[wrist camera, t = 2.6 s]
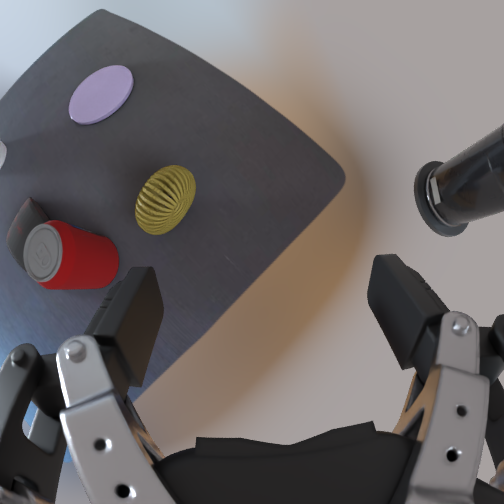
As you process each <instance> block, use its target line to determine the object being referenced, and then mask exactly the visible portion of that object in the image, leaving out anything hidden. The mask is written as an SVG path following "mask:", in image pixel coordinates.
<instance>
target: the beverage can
mask: <svg viewBox="0 0 504 504" xmlns="http://www.w3.org/2000/svg"><path fill="white" fill-rule="evenodd" d="M23 257H24V264H25V268H26V271H27V273H28V274H29V276H30V277H31V278H32V279H33V280H35V281H37V282H38V283H39V284H40V285H41V286H42V287H44V288H46V289H97V288H103V287H105V286H107V285H108V284H109V283H110V282H111V281H112V280H113V279H114V277H115V275H116V273H117V270H118V266H119V256H118V252H117V249H116V247H115V245H114V244H113V242H112V241H111V240H110V239H108V238H107V237H105V236H102V235H99V234H97V233H94V232H91V231H88V230H86V229H83V228H80V227H77V226H74V225H71V224H68V223H65V222H62V221H59V220H52V221H48V222H46V223H44V224H40V225H38V226H36V227H35V228H34V229H33V230H32V231H31V232H30V234H29V235H28V237H27V239H26V242H25V246H24V254H23Z"/></svg>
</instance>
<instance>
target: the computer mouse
mask: <svg viewBox="0 0 504 504" xmlns="http://www.w3.org/2000/svg"><path fill="white" fill-rule="evenodd" d="M48 221H50V220H49V219H48V217H47V216H46V214H45V213H44V211H43V210H42V208H41V207H40V206H39V205H38V203H37V202H36V201H34V200H33V199H32V198H31V197H29V198H28V199H27V200H26V202H25V203H24V205H23V206H22V207H21V209H20V210H19V212H18V214H17V215H16V217H15V219H14V221H13V223H12V225H11V227H10V229H9V231H8V233H7V238H6V242H7V246H8V249H9V251H10V253H11V254H12V256H13V257H14V259H15V260H16V261H17V263H18V264H19V265H20V266H21V267H22V268H23V269H24V270H25V271H26V268H25V264H24V257H23V254H24V246H25V242H26V239H27V237H28V235H29V234H30V232H31V231H32V230H33V229H34V228H35V227H36V226H38V225H40V224H44V223H46V222H48ZM26 272H27V271H26Z"/></svg>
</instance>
